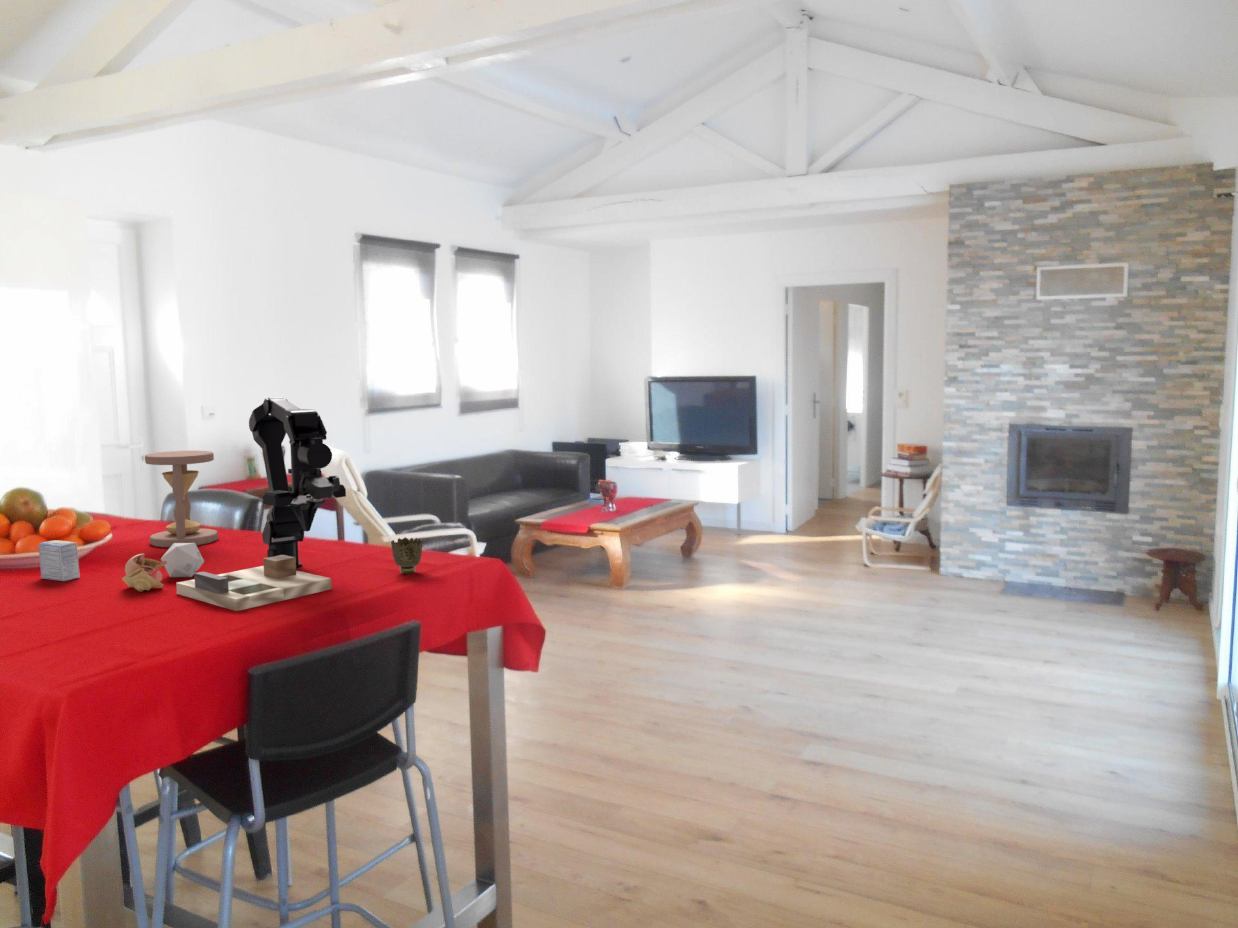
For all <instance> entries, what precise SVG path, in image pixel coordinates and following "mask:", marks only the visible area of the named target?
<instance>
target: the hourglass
mask: <svg viewBox="0 0 1238 928" xmlns="http://www.w3.org/2000/svg"><path fill="white" fill-rule="evenodd" d="M214 455H215V454H214V452H212V451H209V450H174V451H161V452H153V453H148V454H145V455H144V463H145V464H147V465H153V466H154V465H155V466H172V471H164V472H162V473H161V475H162V476H163V479H164V480H165V481H166V482H167V483H168V485H169V486H170V487H171V489H172V493H173V496H174V499H175V505H174V508H173V518H174V522H171V523H170V524H168V525H166V527H165V529H166V530H165V531H160V532H156V533H153V534H151V535H150V536H149V542H150V545H151V546H153V547H157V548H170V547H171V546H172V545H173V544H174V543H195V544H196V546H197V547H198V546H202V545H207V544H211V543H215V541H217V540H218V539H219V532H218V531H217V530H216V529H212V528H201V523H200V522H196V521H193V520H191V511H192V510H191V509H192V507H191V502H190V498H189V495H188V492H189V490H190V488H191V487H192V485H193V483H194V482H195V480H196V479H197V478H198V475H199V473H200V471H199V470H188V465H193V464H202V463H203V464H204V463H210V462H212V461H214V459H215V458H214V457H215V456H214Z"/></svg>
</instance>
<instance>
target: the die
mask: <svg viewBox="0 0 1238 928" xmlns="http://www.w3.org/2000/svg"><path fill="white" fill-rule="evenodd" d="M160 561H161V562H162V561H166V562H167V564H165V565H164V566H163V567H164V568H165V570H166V572H167V574H168V575H169V577H170V578H192V577H194V573H197V571H198V570H199V569H200V568H201V566H203V564H204V563H205V559H204V558H203V556H202V553H201V552H200V550H199V548H198V545H197V546H196V544H195V543H174V544H173V545H172V546H171V547H168V550H166V552H164V554H163V555H162V557H161V558H160Z"/></svg>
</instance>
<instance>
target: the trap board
mask: <svg viewBox="0 0 1238 928" xmlns="http://www.w3.org/2000/svg"><path fill="white" fill-rule="evenodd" d="M193 577H194V579H188V580H184V581H178V582H176V594H177V595H179V596H183V597H186V598H191V599H194V600H196V601H200V602H204V603H207V604H211V605H214V606H218V607H221V608H224V609H228V610H231V611H234V612H238V611H243V610H247V609H251V608H256V607H261V606H264V605H270V604H273V603H278V602H282V601H287V600H291V599H295V598H299V597H304V596H309V595H312V594H317V593H320V592H326V591H329V590H332V579H331V577H328V576H327V577H326V576H324V575H323V576H322V575H317V574H313V573H308V572H305V571H300V570H296V575H292V576H287V577H283V578H278V579H276V578H272V577H267V576H264V565H260V566H256V567H251V568H250V567H249V568H245V569H240V570H235V571H230V572H225V573H219V574H215V573H214V574H213V573H210V572H206V571H200V572H195V573H194V575H193Z"/></svg>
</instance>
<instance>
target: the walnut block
mask: <svg viewBox="0 0 1238 928" xmlns="http://www.w3.org/2000/svg"><path fill="white" fill-rule="evenodd" d="M262 560H263V566H264V576H267V577H272V578H276V579H278V578H283V577H287V576H292V575H296V571H297V567H296V557H291V556H287V555H279V556H273V557H268V556H267V557H263V558H262Z"/></svg>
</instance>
